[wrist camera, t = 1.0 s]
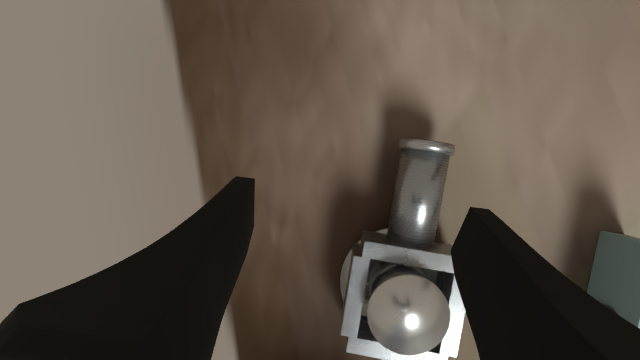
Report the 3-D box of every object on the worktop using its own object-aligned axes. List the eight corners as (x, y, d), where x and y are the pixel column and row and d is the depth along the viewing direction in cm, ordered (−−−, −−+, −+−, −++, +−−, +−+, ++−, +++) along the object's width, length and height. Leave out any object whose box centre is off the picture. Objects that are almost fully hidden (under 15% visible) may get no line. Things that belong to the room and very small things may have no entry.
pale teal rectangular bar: (587, 401, 25) (639, 454, 21) (559, 396, 25) (604, 447, 21) (624, 234, 24) (686, 251, 20) (595, 229, 24) (650, 245, 20)
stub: (442, 346, 26) (467, 397, 20) (332, 325, 26) (327, 369, 21) (462, 237, 25) (494, 259, 20) (349, 218, 26) (349, 234, 20)
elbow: (438, 341, 25) (453, 373, 22) (339, 323, 26) (338, 350, 22) (473, 150, 24) (495, 149, 21) (370, 135, 25) (374, 131, 21)
